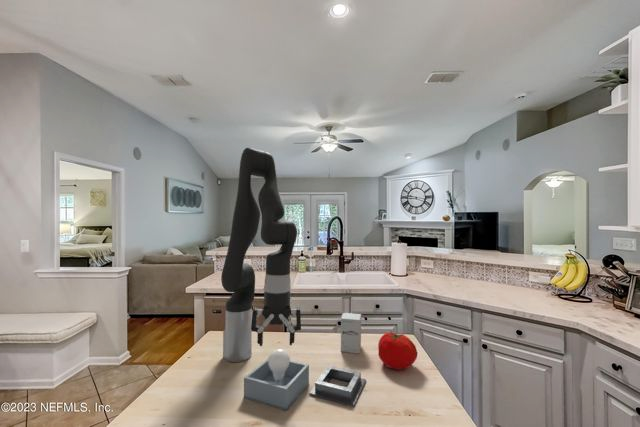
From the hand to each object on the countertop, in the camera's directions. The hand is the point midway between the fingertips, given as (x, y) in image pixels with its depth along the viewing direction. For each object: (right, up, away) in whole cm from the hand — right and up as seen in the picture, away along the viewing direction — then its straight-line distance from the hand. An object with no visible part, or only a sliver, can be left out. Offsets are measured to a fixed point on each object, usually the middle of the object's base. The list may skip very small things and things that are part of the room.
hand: (275, 344), depth 82 cm
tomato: (+39, -14, +14) cm, 44 cm away
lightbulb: (+1, -13, 0) cm, 13 cm away
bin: (+1, -13, 0) cm, 13 cm away
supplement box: (+25, -14, +26) cm, 39 cm away
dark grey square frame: (+18, -13, +1) cm, 23 cm away
